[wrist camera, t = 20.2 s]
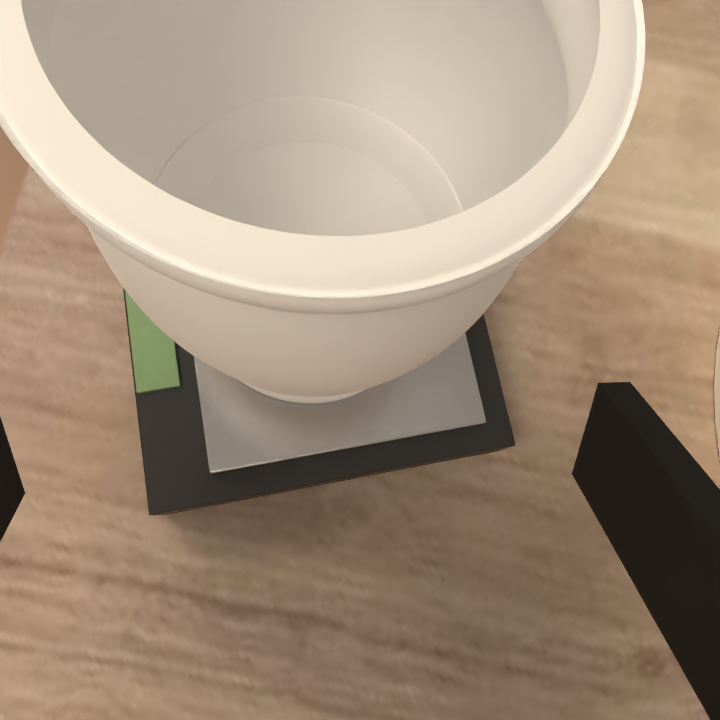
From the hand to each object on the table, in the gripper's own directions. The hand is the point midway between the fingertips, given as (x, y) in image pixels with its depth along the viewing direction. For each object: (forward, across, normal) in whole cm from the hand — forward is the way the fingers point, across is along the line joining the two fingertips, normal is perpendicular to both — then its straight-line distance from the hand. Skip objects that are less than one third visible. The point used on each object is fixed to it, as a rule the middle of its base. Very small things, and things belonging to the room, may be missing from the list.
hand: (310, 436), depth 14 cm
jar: (+11, 0, -2) cm, 11 cm away
